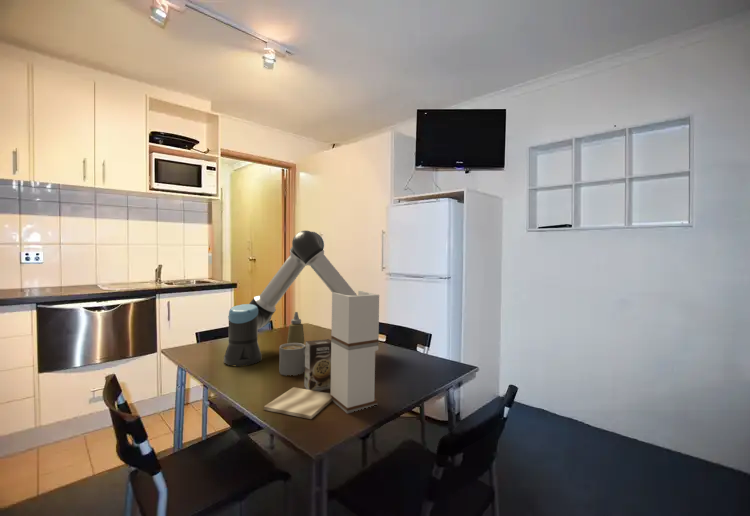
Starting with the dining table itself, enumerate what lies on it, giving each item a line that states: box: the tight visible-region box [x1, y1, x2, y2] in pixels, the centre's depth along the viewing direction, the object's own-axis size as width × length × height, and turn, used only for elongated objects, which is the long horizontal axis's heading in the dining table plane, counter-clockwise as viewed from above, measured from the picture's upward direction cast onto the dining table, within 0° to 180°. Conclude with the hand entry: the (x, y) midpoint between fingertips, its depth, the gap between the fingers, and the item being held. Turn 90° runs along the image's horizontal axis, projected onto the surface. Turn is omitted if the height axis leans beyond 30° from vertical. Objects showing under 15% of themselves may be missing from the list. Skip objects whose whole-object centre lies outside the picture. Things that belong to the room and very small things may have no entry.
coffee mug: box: [278, 343, 306, 377], centre depth 138 cm, size 13×10×10 cm
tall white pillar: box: [330, 290, 380, 414], centre depth 111 cm, size 11×11×35 cm
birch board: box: [263, 387, 333, 420], centre depth 110 cm, size 16×16×1 cm
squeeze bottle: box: [286, 311, 305, 345], centre depth 169 cm, size 8×8×18 cm
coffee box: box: [303, 338, 331, 392], centre depth 123 cm, size 9×6×16 cm
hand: (331, 350), depth 130 cm, fingers closed
